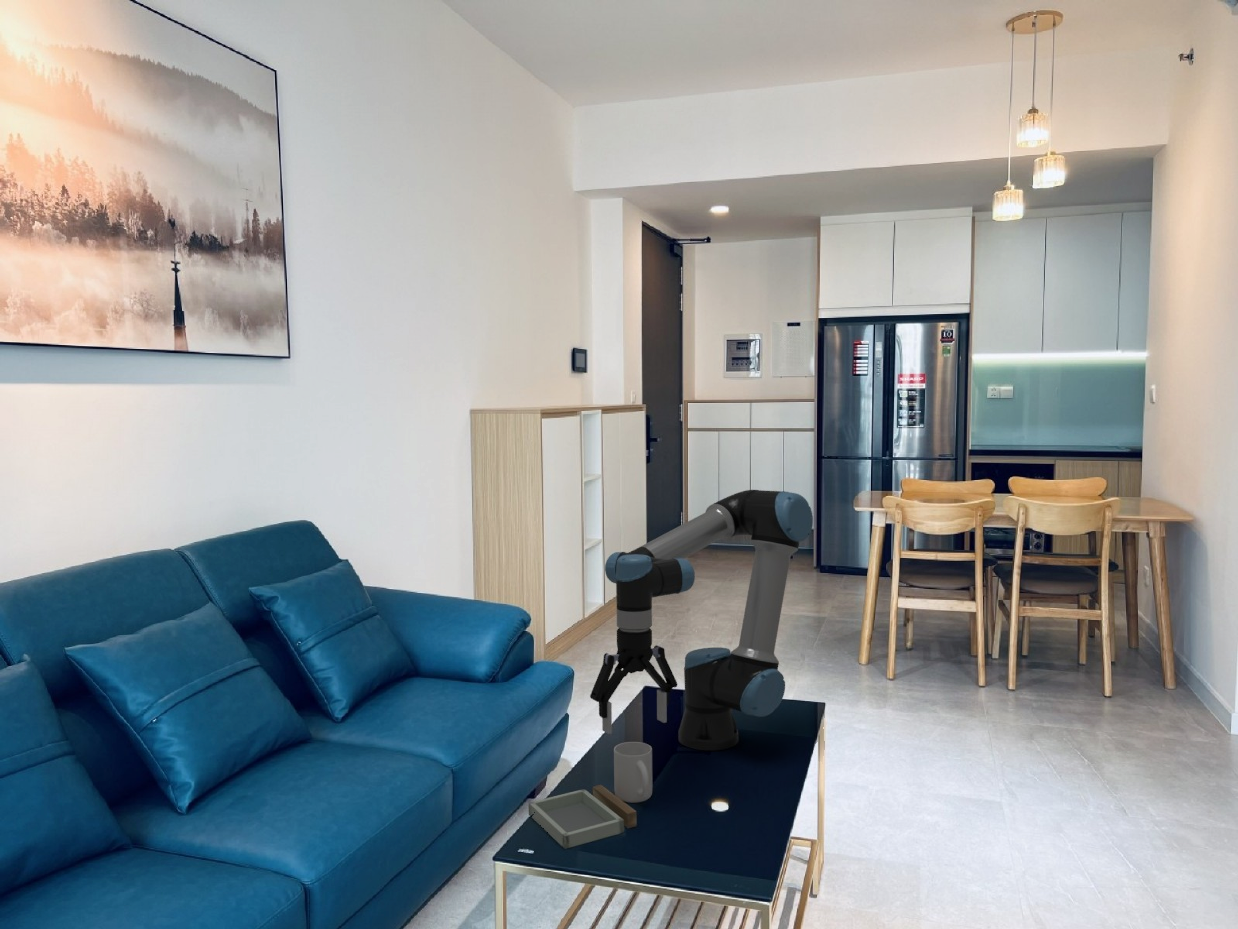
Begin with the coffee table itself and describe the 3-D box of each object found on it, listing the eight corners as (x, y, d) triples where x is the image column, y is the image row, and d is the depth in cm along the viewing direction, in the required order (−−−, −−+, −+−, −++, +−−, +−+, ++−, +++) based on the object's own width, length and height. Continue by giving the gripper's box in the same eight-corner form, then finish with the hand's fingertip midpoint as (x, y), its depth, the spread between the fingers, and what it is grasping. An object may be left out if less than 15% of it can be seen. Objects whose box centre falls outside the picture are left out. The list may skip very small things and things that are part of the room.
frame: (584, 800, 188) (584, 789, 188) (624, 832, 173) (623, 820, 173) (528, 814, 181) (528, 802, 181) (564, 849, 167) (564, 836, 167)
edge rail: (601, 798, 189) (600, 784, 188) (636, 826, 176) (636, 811, 175) (592, 800, 188) (592, 786, 188) (628, 828, 175) (627, 813, 174)
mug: (665, 807, 184) (664, 759, 184) (628, 813, 181) (627, 764, 181) (644, 785, 195) (643, 739, 195) (609, 790, 193) (608, 744, 192)
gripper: (673, 618, 196) (674, 711, 197) (573, 631, 184) (574, 731, 185) (692, 624, 189) (693, 721, 190) (590, 639, 177) (591, 742, 178)
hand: (634, 726), depth 187 cm, fingers open, 13 cm apart
